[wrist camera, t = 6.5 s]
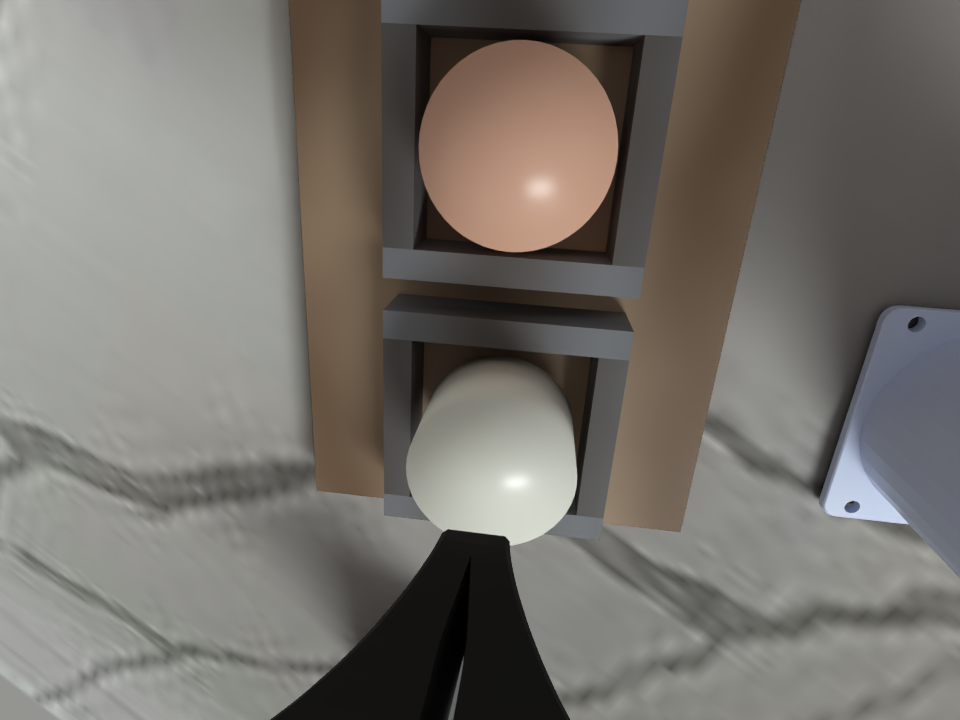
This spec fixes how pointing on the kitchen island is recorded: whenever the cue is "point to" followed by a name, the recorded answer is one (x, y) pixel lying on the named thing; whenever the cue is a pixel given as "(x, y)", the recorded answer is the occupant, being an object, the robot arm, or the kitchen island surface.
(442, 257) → the three-slot key tray
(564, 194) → the terracotta key
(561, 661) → the kitchen island surface
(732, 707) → the kitchen island surface
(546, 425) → the cream rounded piece
